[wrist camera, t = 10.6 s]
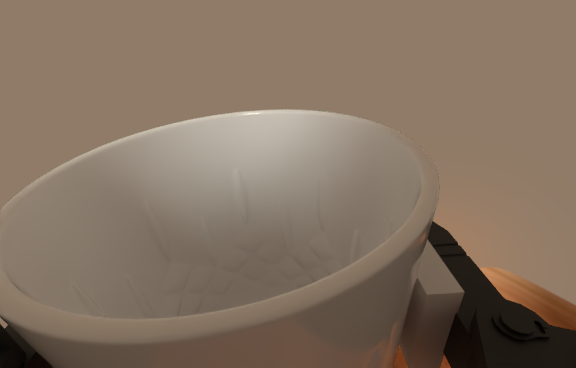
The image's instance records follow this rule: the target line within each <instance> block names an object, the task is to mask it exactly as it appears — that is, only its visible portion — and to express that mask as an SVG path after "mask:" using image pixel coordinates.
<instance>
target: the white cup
mask: <svg viewBox="0 0 576 368" xmlns="http://www.w3.org/2000/svg"><path fill="white" fill-rule="evenodd" d="M439 190H440V186H439V177H438V173H437V170H436V167H435V165H434V163H433V161H432V160H431V158H430V157H429V155H428V154H427V153H426V152H425V150H423V148H421V146H419V145H418V144H417V143H416V142H415V141H413V140H412V139H410V138H409V137H408V136H406V135H404V134H403V133H401V132H399V131H397V130H395V129H393V128H390V127H388V126H386V125H383V124H380V123H378V122H375V121H371V120H368V119H364V118H360V117H355V116H351V115H346V114H339V113H333V112H325V111H311V110H259V111H246V112H237V113H227V114H220V115H213V116H208V117H201V118H196V119H191V120H186V121H181V122H177V123H173V124H168V125H165V126H161V127H157V128H153V129H150V130H146V131H143V132H140V133H136V134H133V135H130V136H128V137H124V138H121V139H119V140H116V141H113V142H110V143H108V144H105V145H103V146H100V147H98V148H96V149H93V150H91V151H89V152H86V153H84V154H82V155H80V156H78V157H76V158H74V159H71V160H69V161H68V162H66V163H64V164H62V165H60V166H58V167H57V168H55V169H53V170H51V171H50V172H48V173H46V174H44V175H43V176H41V177H40V178H38V179H37V180H35V181H34V182H32V183H31V184H30V185H28V186H27V187H25V188H24V189H23V190H21V191H20V192H19V193H18V194H16V195H15V196H14V197H13V198H12V199H11V200H9V201H8V203H6V204H5V205H4V206H3V207H2V208H1V209H0V317H1V318H2V319H3V320H4V321H5V322H6V323H7V324H8V325H9V326H10V327H11V328H12V329H13V330H14V331H15V332H16V333H17V334H18V335H19V336H21V337H22V338H23V339H24V340H25V341H26V342H27V343H28V344H29V345H30V346H31V347H32V348H33V349H34V350H35V351H36V352H37V353H38V354H39V355H40V356H41V357H42V358H43V359H44V360H46V361H47V362H48V363H49V364H50V365H51V366H52V367H53V368H393V365H394V361H395V358H396V354H397V350H398V346H399V342H400V339H401V335H402V331H403V327H404V323H405V320H406V316H407V312H408V308H409V304H410V301H411V297H412V293H413V290H414V286H415V282H416V279H417V275H418V271H419V268H420V264H421V260H422V257H423V253H424V250H425V246H426V242H427V239H428V235H429V232H430V228H431V224H432V221H433V217H434V213H435V210H436V207H437V203H438V198H439Z"/></svg>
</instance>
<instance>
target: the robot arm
mask: <svg viewBox="0 0 576 368" xmlns="http://www.w3.org/2000/svg"><path fill="white" fill-rule="evenodd" d="M399 344H400V346H401V349H402V352H403V354H404V357H405V360H406V362H407V365H408V368H438V367H440V365H441V362H442V359H443V356H444V354H445V356H446V358H447V360H448V362H449V364H450V366H451V368H576V331H574V330H569V329H564V328H560V327H555V326H552V325H548V323H547V322H545V321H544V320H543V319H542V318H541V317H540V316H539V315H537V314H536V313H535V312H533V311H532V310H530V309H528V308H526V307H524V306H523V305H521V304H518V303H515V302H512V301H509V300H506V299H504V298H503V296H502V295H501V294H500V293H499V292H498V291H497V289H496V288H495V287H494V286H493V285H492V283H491V282H490V281H489V280H488V279H487V277H486V276H485V275H484V274H483V273H482V271H481V270H480V269H479V268H478V267H477V265H476V264H475V263H474V262H473V261H472V259H471V258H470V257H469V256H467V255H466V252H465V251H464V250H463V249H462V247H461V246H458V243H457V241H455V239H454V238H453V237H452V235H451V234H450V233H449V232H448V231H447V230H445V229H444V228H442V227H441V226H439V225H438V224H436V223H435V222H433V221H432V224H431V228H430V232H429V235H428V239H427V242H426V246H425V250H424V253H423V257H422V260H421V264H420V268H419V271H418V275H417V279H416V282H415V286H414V290H413V293H412V297H411V301H410V304H409V308H408V312H407V316H406V320H405V323H404V327H403V331H402V335H401V339H400V342H399ZM0 368H53V367H52V366H51V365H50V364H49V363H48V362H47V361H46V360H44V359H43V358H42V357H41V356H40V355H39V354H38V353H37V352H36V351H35V350H34V349H33V348H32V347H31V346H30V345H29V344H28V343H27V342H26V341H25V340H24V339H23V338H22V337H21V336H19V335H18V334H17V333H16V332H15V331H14V330H13V329H12V328H11V327H10V326H9V325H8V326H7V327H6V328H5V329H4V328H3V327H2V326H1V324H0Z"/></svg>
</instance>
